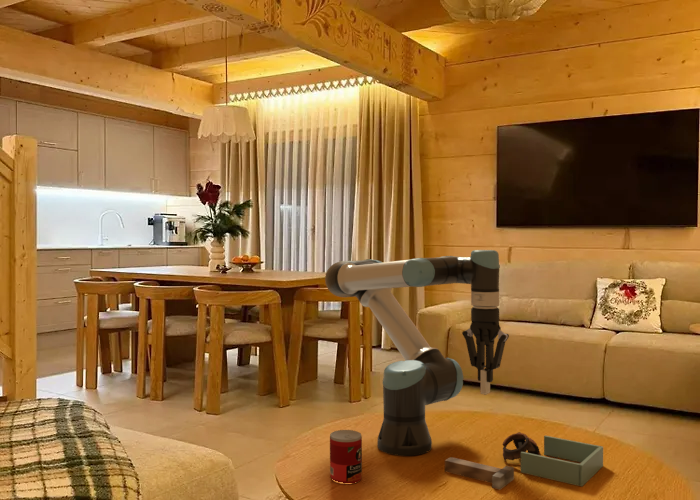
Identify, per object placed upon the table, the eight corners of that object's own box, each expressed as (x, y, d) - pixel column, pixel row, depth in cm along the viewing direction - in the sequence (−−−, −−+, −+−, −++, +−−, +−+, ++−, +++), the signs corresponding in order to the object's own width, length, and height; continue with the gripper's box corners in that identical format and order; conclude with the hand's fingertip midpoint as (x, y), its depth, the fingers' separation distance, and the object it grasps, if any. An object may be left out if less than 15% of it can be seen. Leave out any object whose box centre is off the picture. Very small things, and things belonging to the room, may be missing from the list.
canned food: (351, 487, 154) (351, 441, 153) (323, 480, 158) (323, 436, 157) (368, 476, 160) (367, 432, 160) (340, 470, 164) (340, 427, 164)
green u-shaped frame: (520, 472, 162) (520, 452, 162) (545, 453, 175) (545, 435, 175) (582, 486, 153) (582, 465, 153) (603, 465, 166) (603, 446, 166)
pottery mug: (548, 469, 165) (535, 444, 164) (514, 483, 167) (500, 458, 165) (538, 442, 177) (525, 418, 175) (506, 456, 179) (493, 432, 177)
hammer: (439, 475, 161) (439, 463, 161) (455, 465, 168) (455, 454, 168) (500, 490, 152) (500, 477, 152) (513, 479, 158) (513, 467, 158)
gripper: (457, 306, 177) (457, 392, 178) (501, 309, 169) (501, 399, 170) (469, 304, 183) (469, 387, 184) (513, 307, 175) (513, 394, 176)
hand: (485, 393), depth 177 cm, fingers closed
